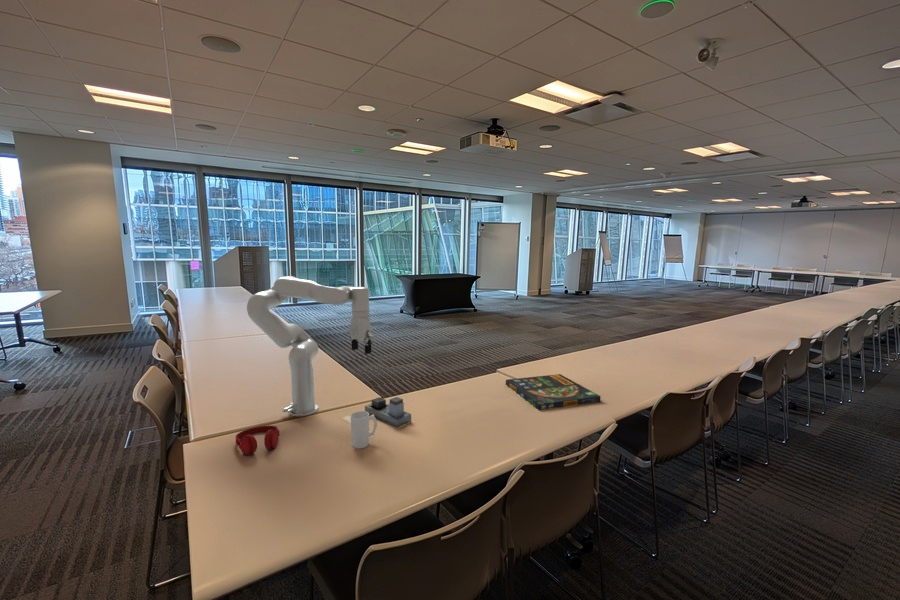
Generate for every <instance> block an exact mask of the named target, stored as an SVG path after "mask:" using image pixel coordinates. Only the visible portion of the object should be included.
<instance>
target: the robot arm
mask: <svg viewBox="0 0 900 600" xmlns="http://www.w3.org/2000/svg"><path fill="white" fill-rule="evenodd" d="M369 291H370V290H369V288H368V287H367V286H349V285H348V286H347V285H341V286H339V287H335V286H334V287H333V286H327V285H326V286H325V285H321V284H318V283H317V282H316V281H314V280H309V279H303V278H302V279H300V278H297V277H296V276H294V275H293V276H292V275H288V276H281V277H279V278H277V279H276V280H275V281H274V283H273V286H272V287H271V288H269V289H267V290H264V291H263V290H262V291H259V292H256V293H254V294H253V295H251V296H250V298H249V299H248V301H247V304H246V311H247V315H248V317H249V319H251V321H252V322H253V323H254V324H255V325H256V326H257V327H258V328H259V329H260V330H262V332H263V333H264V334H265V335H267V337H269V339H270V340H271V341H273V343H275V345H277V347H279V348H281V349H286V348H289V347H292V348H291V350H289V354H288V362H289V363H288V364H289V368H290V379H291V399H292V401H291V402H290V405H288V406H285V407H282V409H281V413H283V414H284V413H288V414H289V415H290V416H293V417H306V416H310V415H312V414H315V413H317V412H318V411H319V405H317V404H316V401H315V376H314V375H315V374H314V367H313V362H312V360H313V359H315V357H316V356H317V355H318V354H319V346H318V343H317V342H316V341H315V340H314V339H313V338H312V336H310V335H309V334H308V333H307V331H305V330H304V329H303V328H302V327H301V326H300V325H298V324H296V323H287V324H285V323H284V322H283V321H282V320H281V318H280V317H278V316H277V315H276V314H274V313H273V312H271V310H272V309H274V308H276V307H278V306H280V305H281V304H282V303H284V302H285V301H287V300H288V299H290V298H294V299H295V298H296V299H302V300H309V301H312V302H315V303H321V304H326V305H327V304H328V305H333V306H343V305H345V304H347V303H350V302H351V318H350V326H349V330H348V335H349V338H350V342H351V351H356V350H358V349H359V341H360V342H362V341H363V342H364V344H365V345H364V354H365V355H368V354H371V353H372V344H373V343H374V339H375V335H374V334H372V328H371V327H372V326H371V320H370V319H371V318H370V292H369ZM270 309H271V310H270Z"/></svg>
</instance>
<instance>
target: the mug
mask: <svg viewBox="0 0 900 600" xmlns="http://www.w3.org/2000/svg"><path fill="white" fill-rule="evenodd" d="M350 415H351V424H350V431H351V447H353V448H354V449H364V448H366V447H368V446H369V444H370V441H369V438H370V437H371V436H374V435H375V432H376V429H377V426H378V423H377V422H378V421H377V418H376V417H375V416H374V414H373V415H369V413H368V412H365V410H362V411H361V410H359V411H355V412H352V413H351V414H350ZM370 420H372V421H373V427H372V429H371V430H370V427H369V426H370Z"/></svg>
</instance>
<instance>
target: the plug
mask: <svg viewBox="0 0 900 600" xmlns="http://www.w3.org/2000/svg"><path fill="white" fill-rule="evenodd" d="M388 405H389V415H390V416H393V417H395V418H397V417H399V416H402V415H404V411H405V410H404V409H405V403H404V399H403V398H400V397H398V396H395V397H393V398H391V399H389V402H388Z"/></svg>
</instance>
